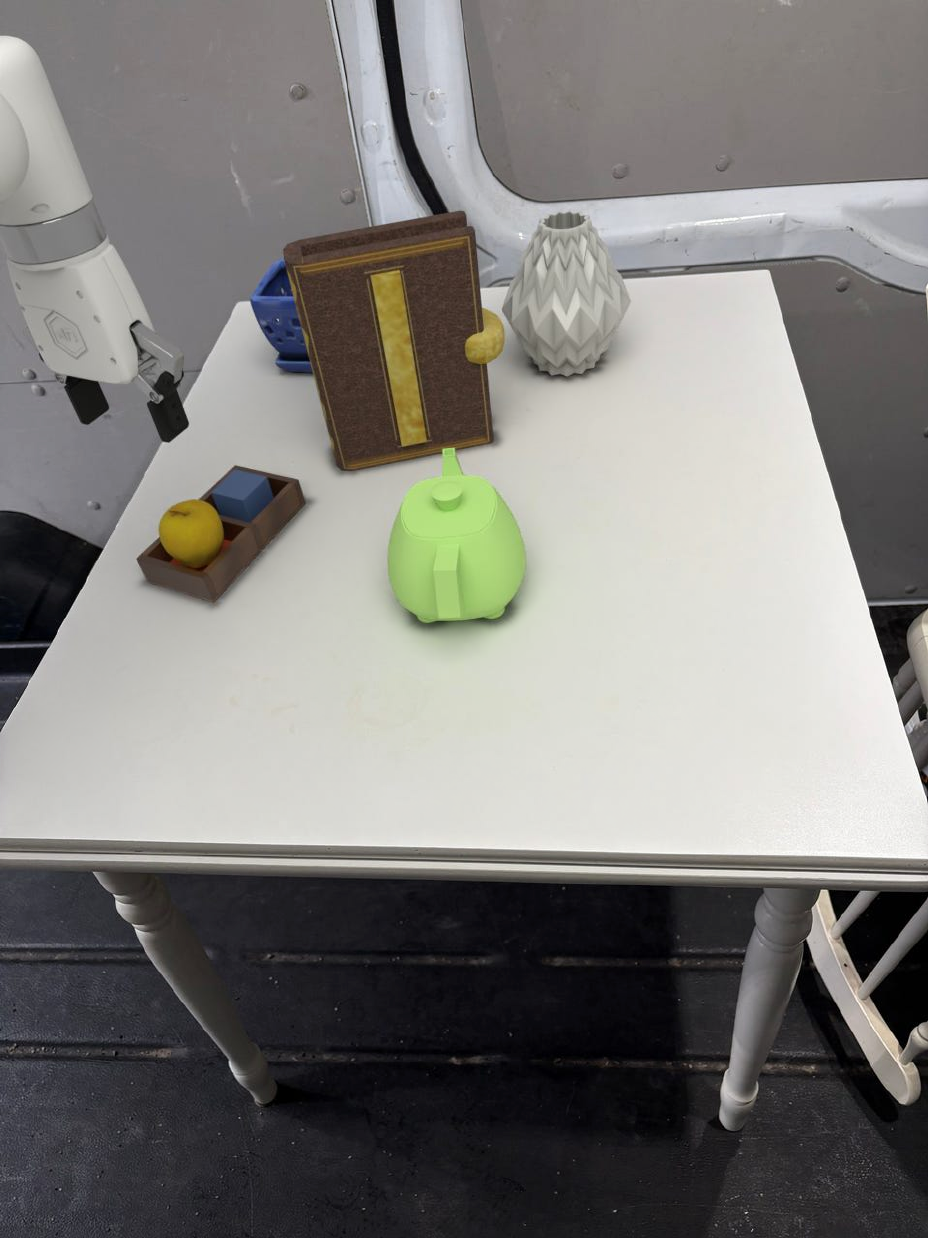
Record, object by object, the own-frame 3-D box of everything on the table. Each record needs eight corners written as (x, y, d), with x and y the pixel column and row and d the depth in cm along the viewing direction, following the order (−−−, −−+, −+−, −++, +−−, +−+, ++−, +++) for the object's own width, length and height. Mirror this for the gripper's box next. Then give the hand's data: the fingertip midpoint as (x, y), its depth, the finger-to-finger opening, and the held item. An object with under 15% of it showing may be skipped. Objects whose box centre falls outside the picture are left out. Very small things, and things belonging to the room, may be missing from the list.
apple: (168, 583, 88) (140, 525, 83) (183, 543, 93) (157, 485, 87) (227, 579, 88) (202, 520, 82) (239, 539, 92) (216, 481, 87)
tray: (213, 602, 86) (203, 578, 84) (147, 582, 90) (135, 558, 87) (305, 503, 97) (298, 479, 94) (243, 488, 100) (235, 464, 98)
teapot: (402, 529, 92) (382, 431, 83) (524, 520, 90) (517, 420, 81) (387, 667, 78) (361, 567, 69) (531, 659, 77) (524, 556, 68)
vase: (615, 397, 106) (620, 250, 92) (492, 388, 110) (479, 246, 97) (637, 335, 116) (644, 194, 103) (524, 328, 121) (516, 193, 107)
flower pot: (380, 333, 124) (365, 252, 116) (359, 379, 115) (342, 296, 107) (295, 335, 127) (275, 256, 118) (269, 381, 118) (244, 299, 109)
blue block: (223, 523, 95) (210, 492, 92) (246, 500, 98) (235, 468, 94) (254, 532, 93) (243, 500, 90) (277, 508, 96) (267, 476, 93)
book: (338, 478, 99) (285, 270, 82) (332, 440, 105) (281, 238, 88) (518, 442, 101) (504, 230, 83) (502, 406, 107) (486, 201, 89)
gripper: (-61, 242, 65) (38, 431, 77) (101, 262, 59) (182, 465, 71) (12, 207, 70) (95, 391, 82) (170, 222, 63) (235, 419, 75)
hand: (135, 425), depth 76 cm, fingers open, 9 cm apart
